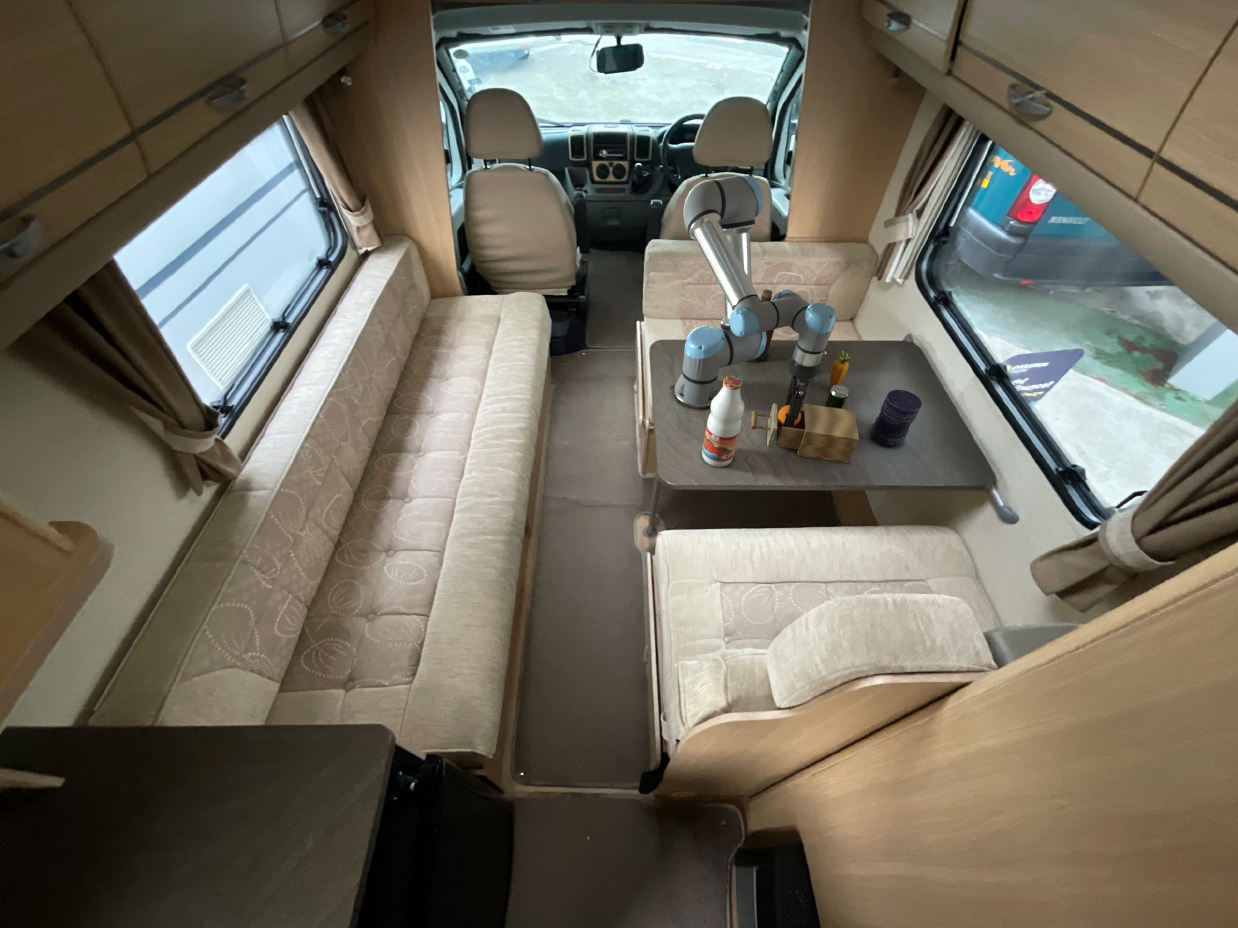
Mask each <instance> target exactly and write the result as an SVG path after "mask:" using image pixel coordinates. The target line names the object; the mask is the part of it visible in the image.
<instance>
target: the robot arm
mask: <svg viewBox="0 0 1238 928" xmlns="http://www.w3.org/2000/svg"><path fill="white" fill-rule="evenodd" d="M763 207H764V195H763V191H762V188H761V186H760V184H759V182H758V181H757V179H755V177H753V176H751V175H745V174H744V175H734V176H728V177H721V178H716V179H706V180H702V181H701V182H699V183H697V184H695V185H694V186H693V187H692V189H690V190H689V192H688V194H687V196H686V199H685V201H684V204H683V210H682V211H683V213H682V214H683V223H684V226H685V230H686V231H687V234H688V235H689V237H690V238H691V239H692V240H694V241H696V243H697V245H698V246H699V248H700V250H701V253H702V254H703V256H704V258H705V260H706V263H707V264H708V267H709V268H710V270H711V272H712V274H713V275H714V278H715V280H716V281H717V284H718V286H719V287H720V290H721V291H722V293H723V304H724V317H723V318H722V319H721V321H720V328H719V327H718V326H714V325H711V326H709V325H702V326H698V327H696V328H694V329H692V330H691V331H690V332H689V333H688V335H687V337H686V340H685V344H684V348H683V349H684V354H683V360H682V361H683V362H682V371H681V374H680V375H679V377H678V379H677V381H676V383H675V384H673V385H670V388H671V389H673V388H674V389H673V396H674V398H675V399H676V401H677V402H678V403H680V404H681V405H682V406H685V407H688V408H691V409H695V410H696V409H697V410H701V409H702V410H704V409H709V408H711V403H712V400H713V399H714V397H715V396H716V395H718V393H719V392H720V391H721V389H722V388H723V387H721V386H720V381H719V372H720V369H722V368H727V367H730V366H734V365H737V364H742V363H748V362H751V361H750V360H752V359H755V358H757V357H759V356H760V355H761V354H762V353H763V351H764V349H765V346H766V340H767V337H766V331H768V330H774V331H775V330H776V329H778V330H779V329H781V328H785V327H789V328H790V329H791V330H793V331H794V332H795V333H797V334H798V338H797V340H796V344H795V347H794V351H793V354H792V356H793V358H792V357H791V360H792V361H790V365H789V371H790V373H791V375H792V376H791V379H790V381H789V385H788V387H787V392H788V393H787V394H786V396H787V397H786V399H785V402H784V406H787V405H790V407H789V412H788V413H785V416H786V418H785V421H784V424H783V427H790V428H793V425H794V422H795V420H798V416H799V413H800V410H801V409H802V407H803V404H804V400H805V398H806V395H807V391H806V390H807V387H808V385H809V380H811V379H813V378H815V377H816V376H817V375H818V372H819V370H820V367H821V362H822V360H823V356H826V355H827V351H826V349H827V345H828V342H829V340H830V337H831V336H832V335H831V334H832V332H833V330H834V327H835V322H836V319H837V312H836V310H835V308H834V307H833V306H832V305H829V304H826V303H823V302H813V303H810V302H808V301H807V300H806V299H804V298H803V297H802V296H801V295H799V294H798V293H796V292H794V291H793V290H792V289H788V288H787V289H785V288H784V289H781V290H780V291H779V292H778V293H776V294H775V295H774V296H772V298H771V301H767V302H763V303H762V302H761V297H760V296H759V295H758V293H757V291H756V289H755V287H754V286H753V282H752V281H753V280H752V279H753V278H752V255H751V254H752V253H751V252H752V251H751V231H752V229H753V228H754V227H755V226H756V218H757V217H758V216H759V215H760V214H761V212H762V209H763ZM784 406H783V407H784Z"/></svg>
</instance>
